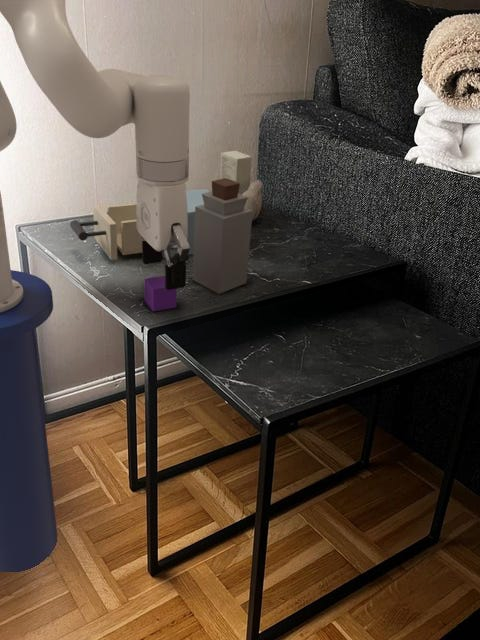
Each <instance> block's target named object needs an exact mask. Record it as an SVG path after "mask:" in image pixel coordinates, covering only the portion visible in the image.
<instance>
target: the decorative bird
mask: <svg viewBox="0 0 480 640" xmlns="http://www.w3.org/2000/svg"><path fill="white" fill-rule="evenodd" d="M262 187H263V182H262V181H261V180H260V179H255V180H253V181H251V182H250V186H249V188H248V189H246V190H244V191H242V192H241V195H244V196H246V197H248V199H247V202H246V204H245V208H247V209H250V210H252V211H253V214H252V222H253V221H255V220H256V219H257V218H258V216H259V215H260V214H261V212H262V211H263V213H266V210H265V209H264V206H263V203H264V200H263V191H262Z"/></svg>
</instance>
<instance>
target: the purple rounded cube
mask: <svg viewBox="0 0 480 640" xmlns="http://www.w3.org/2000/svg"><path fill="white" fill-rule="evenodd" d="M143 286H144V289H143V290H144V302H145V303H146V305H148V307H149V308H150V310H151V311H152V312H158V311H165V310H169V309H175V308H177V297H178V295H177V294H178V292H177V291H178V290H177V289H172V290H167V289H166V288H165V275H161V276H153V277H147V278H144V285H143Z"/></svg>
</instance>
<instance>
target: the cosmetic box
mask: <svg viewBox="0 0 480 640" xmlns="http://www.w3.org/2000/svg"><path fill="white" fill-rule="evenodd" d="M251 169H252V156H251V155H249V154H246V153H243V152H240V151H238V150H228V151H221V153H220V169H219V170H220V172H219V173H220V175H219V179H224V178H228V179H230V180H233V181H235V182H238V183H240V186H239V191H238V193H239V194H241V192H242V191H244V190H246V189H248V188H249V186H250V184H251V172H252V170H251Z"/></svg>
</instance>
